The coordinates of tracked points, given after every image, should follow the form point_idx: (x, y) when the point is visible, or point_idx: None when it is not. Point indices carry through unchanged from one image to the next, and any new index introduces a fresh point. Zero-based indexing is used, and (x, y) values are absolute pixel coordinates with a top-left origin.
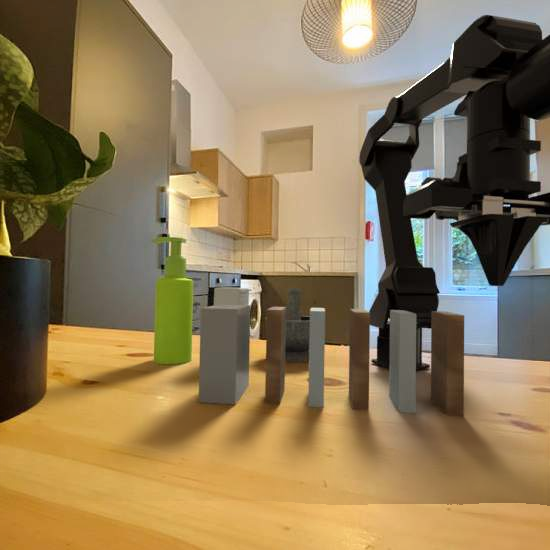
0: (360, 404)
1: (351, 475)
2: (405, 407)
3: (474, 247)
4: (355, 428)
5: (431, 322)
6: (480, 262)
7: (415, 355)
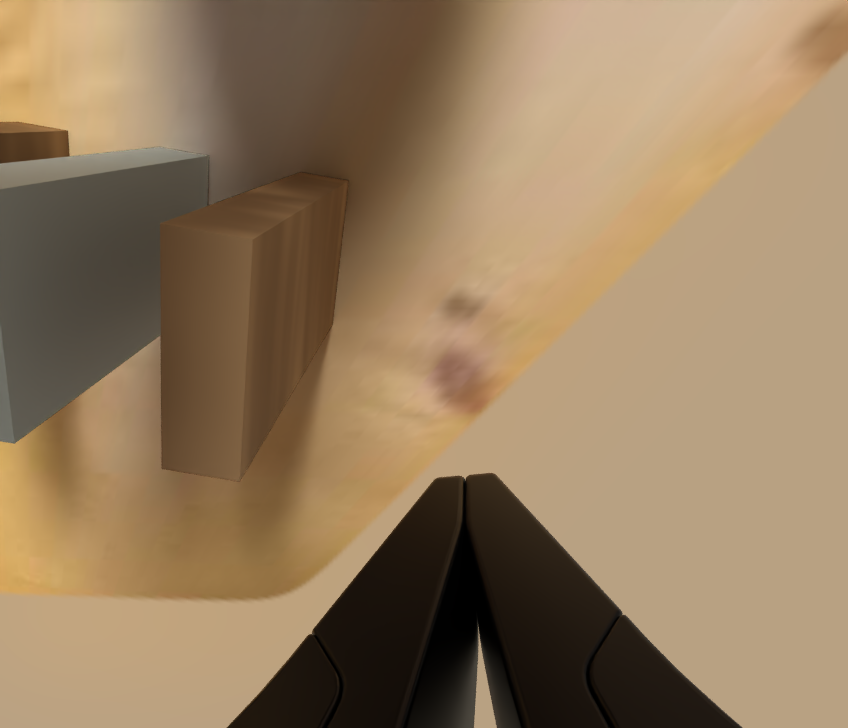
0: None
1: (28, 547)
2: None
3: (240, 721)
4: None
5: (191, 213)
6: (353, 581)
7: (119, 363)
